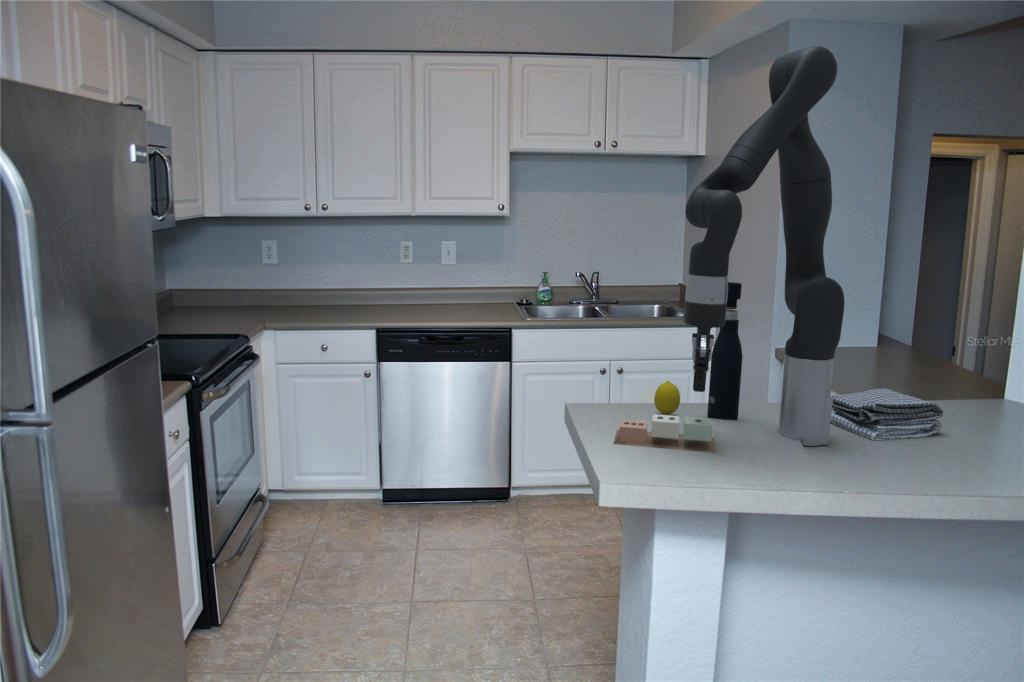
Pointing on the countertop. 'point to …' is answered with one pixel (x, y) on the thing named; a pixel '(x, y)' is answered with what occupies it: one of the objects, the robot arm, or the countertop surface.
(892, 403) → the towel
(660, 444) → the board
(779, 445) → the countertop surface
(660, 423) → the key two
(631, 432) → the key three
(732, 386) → the wine bottle
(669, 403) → the lemon
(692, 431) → the key one
